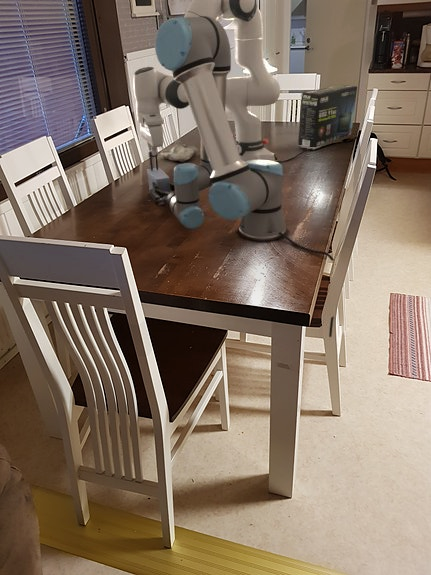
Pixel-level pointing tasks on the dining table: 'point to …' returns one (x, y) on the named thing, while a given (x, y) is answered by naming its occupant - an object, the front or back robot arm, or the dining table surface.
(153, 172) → the grey long flat panel
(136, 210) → the dining table surface
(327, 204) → the dining table surface
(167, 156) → the fossil
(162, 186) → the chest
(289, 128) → the dining table surface
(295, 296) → the dining table surface
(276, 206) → the front robot arm
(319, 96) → the router box
